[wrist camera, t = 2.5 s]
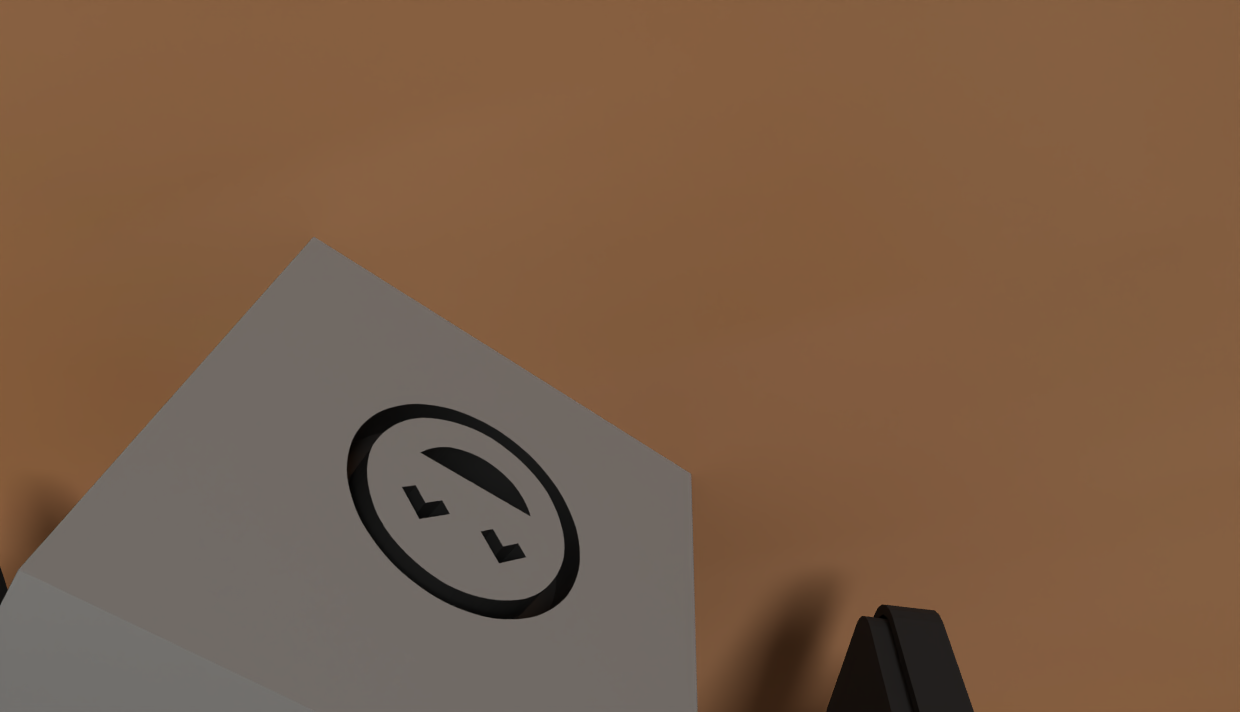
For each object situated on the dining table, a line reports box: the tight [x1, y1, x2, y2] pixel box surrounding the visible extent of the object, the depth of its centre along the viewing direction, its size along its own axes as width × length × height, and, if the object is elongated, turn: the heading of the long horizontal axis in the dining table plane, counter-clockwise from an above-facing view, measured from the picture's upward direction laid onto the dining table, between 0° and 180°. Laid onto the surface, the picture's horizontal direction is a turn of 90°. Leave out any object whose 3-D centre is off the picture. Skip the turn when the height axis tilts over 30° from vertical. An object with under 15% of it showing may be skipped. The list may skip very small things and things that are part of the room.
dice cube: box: [0, 237, 697, 712], centre depth 9 cm, size 5×5×5 cm
